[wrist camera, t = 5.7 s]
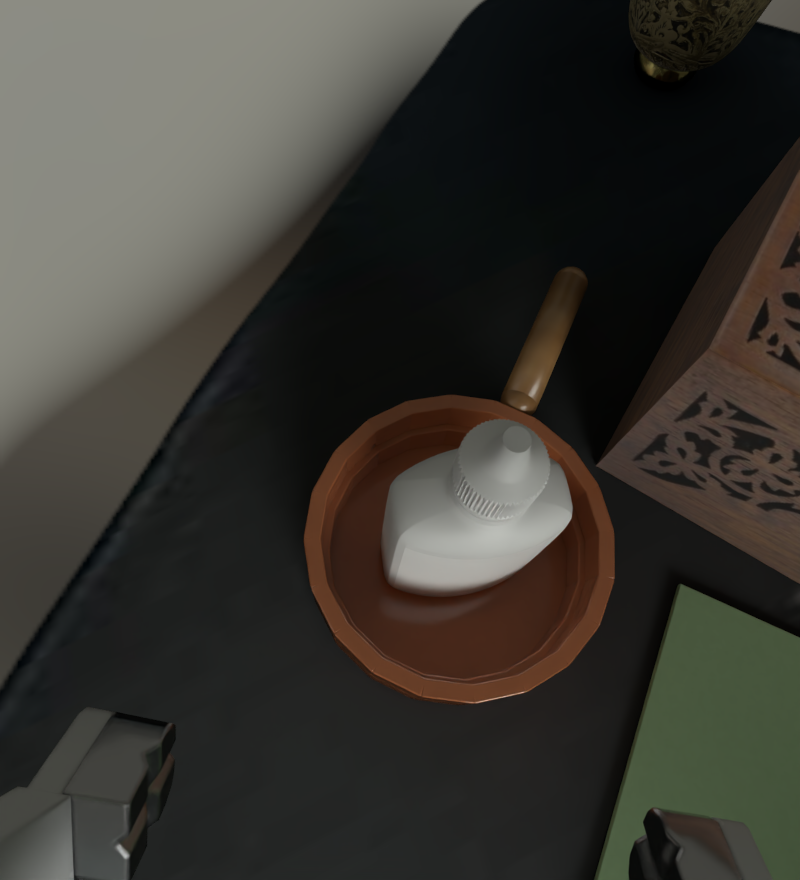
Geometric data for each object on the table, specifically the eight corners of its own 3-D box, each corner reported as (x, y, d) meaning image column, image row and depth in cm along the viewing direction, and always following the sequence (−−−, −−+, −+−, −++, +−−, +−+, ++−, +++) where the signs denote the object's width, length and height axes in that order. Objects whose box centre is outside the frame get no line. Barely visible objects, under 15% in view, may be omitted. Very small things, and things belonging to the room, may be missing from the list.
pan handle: (525, 431, 27) (534, 415, 25) (491, 416, 27) (499, 400, 26) (585, 288, 30) (596, 267, 28) (554, 275, 30) (564, 254, 29)
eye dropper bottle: (499, 633, 26) (608, 569, 14) (365, 578, 26) (372, 476, 15) (531, 531, 27) (651, 405, 16) (404, 482, 28) (437, 326, 17)
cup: (628, 129, 37) (695, -17, 30) (578, 41, 40) (629, -113, 32) (743, 108, 38) (835, -36, 31) (687, 24, 41) (760, -128, 34)
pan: (528, 757, 24) (555, 763, 21) (260, 623, 25) (246, 610, 22) (618, 496, 28) (651, 467, 25) (383, 392, 30) (387, 352, 26)
